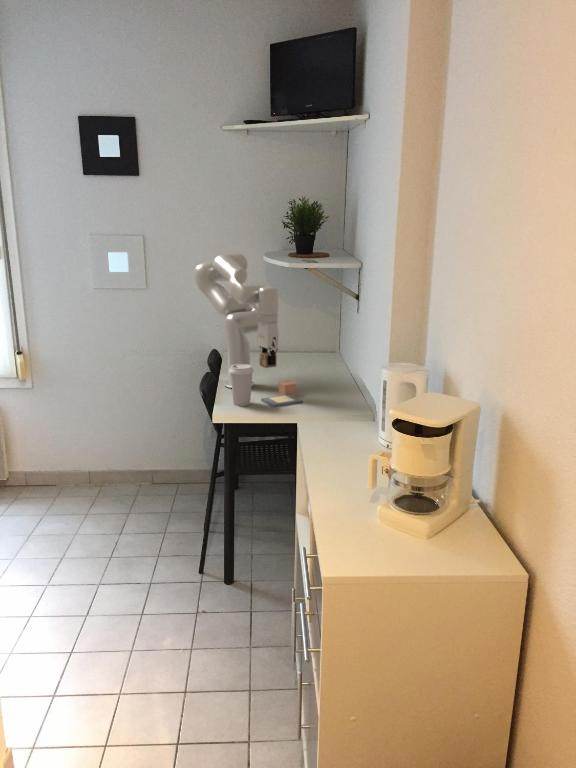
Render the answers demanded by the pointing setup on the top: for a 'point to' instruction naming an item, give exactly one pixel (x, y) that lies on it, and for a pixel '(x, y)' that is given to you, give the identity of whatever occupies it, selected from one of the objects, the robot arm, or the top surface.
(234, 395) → the coffee cup
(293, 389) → the terracotta block
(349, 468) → the top surface
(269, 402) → the board
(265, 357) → the walnut block
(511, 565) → the top surface
